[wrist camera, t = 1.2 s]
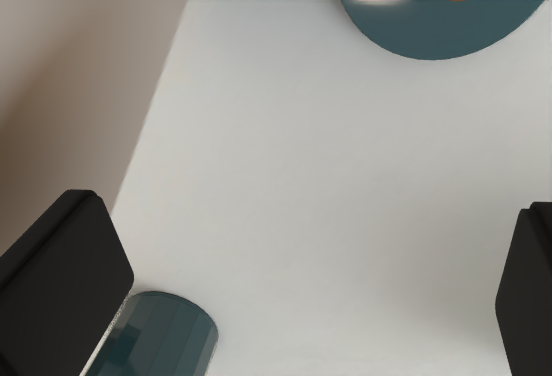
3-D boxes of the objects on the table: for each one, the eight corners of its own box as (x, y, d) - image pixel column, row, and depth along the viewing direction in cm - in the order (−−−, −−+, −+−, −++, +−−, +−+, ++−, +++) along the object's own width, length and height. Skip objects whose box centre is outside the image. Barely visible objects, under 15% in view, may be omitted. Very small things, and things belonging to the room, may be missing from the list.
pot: (111, 323, 42) (61, 407, 36) (145, 276, 37) (94, 364, 30) (192, 366, 44) (159, 453, 38) (236, 327, 39) (206, 421, 32)
